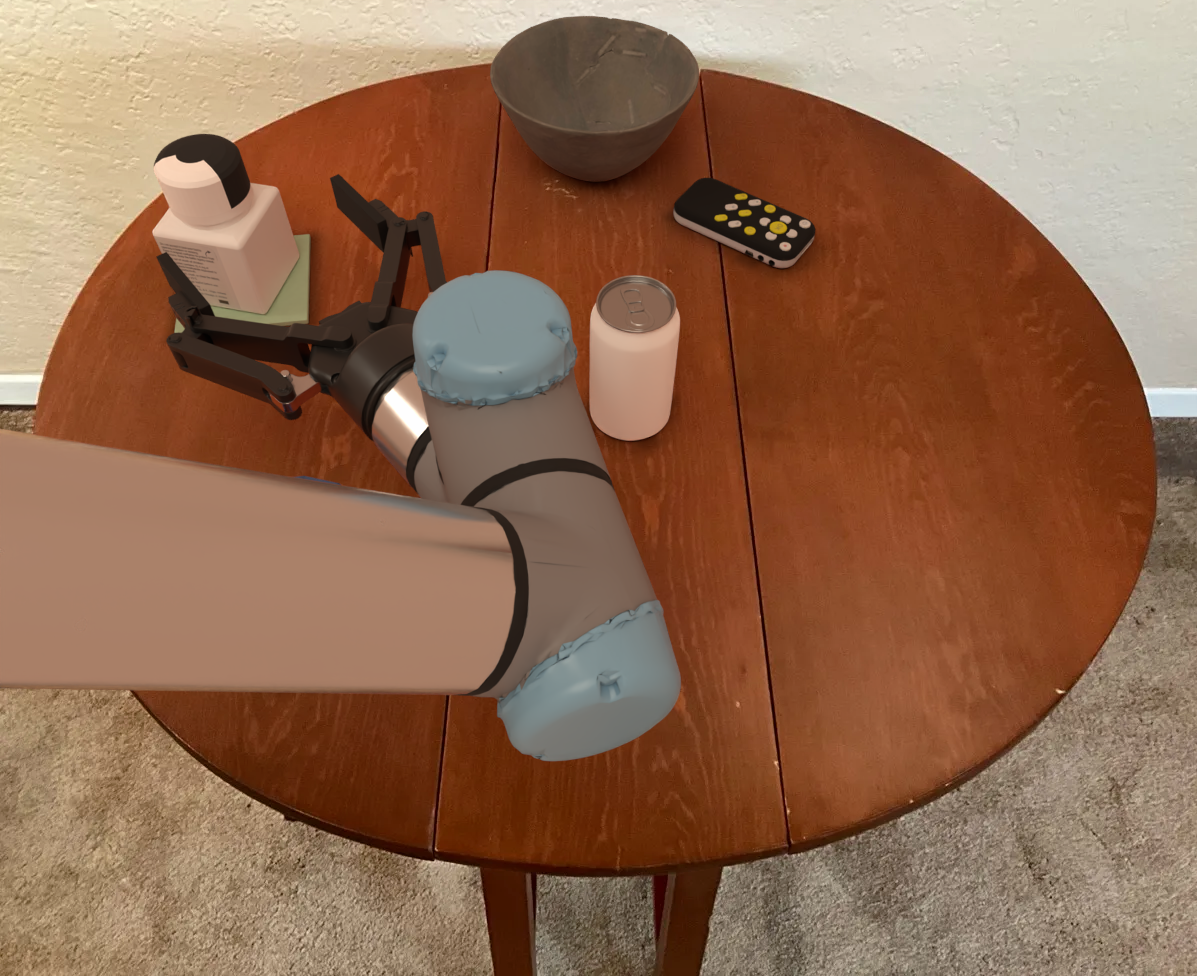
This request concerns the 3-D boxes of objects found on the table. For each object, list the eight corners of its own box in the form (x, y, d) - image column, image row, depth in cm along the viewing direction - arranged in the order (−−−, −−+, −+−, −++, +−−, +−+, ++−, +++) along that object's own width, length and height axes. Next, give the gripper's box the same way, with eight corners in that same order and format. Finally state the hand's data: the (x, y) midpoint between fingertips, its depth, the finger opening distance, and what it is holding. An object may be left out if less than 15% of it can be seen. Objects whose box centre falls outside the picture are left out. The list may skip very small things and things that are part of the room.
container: (221, 243, 87) (170, 115, 77) (302, 256, 86) (261, 129, 76) (182, 302, 83) (122, 176, 72) (266, 317, 82) (218, 191, 71)
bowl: (722, 142, 97) (734, 48, 89) (629, 250, 88) (633, 156, 80) (565, 85, 103) (563, -8, 95) (461, 181, 93) (449, 87, 85)
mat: (176, 337, 81) (173, 333, 81) (187, 249, 88) (185, 245, 87) (308, 323, 82) (307, 319, 82) (310, 238, 89) (309, 233, 88)
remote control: (701, 186, 93) (703, 169, 92) (818, 238, 89) (823, 220, 88) (666, 221, 90) (668, 203, 89) (786, 276, 86) (790, 258, 85)
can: (598, 449, 75) (600, 342, 65) (582, 387, 79) (581, 277, 69) (679, 437, 76) (692, 329, 66) (659, 376, 79) (669, 265, 70)
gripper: (256, 542, 59) (111, 343, 68) (574, 353, 68) (409, 201, 78) (218, 470, 53) (65, 262, 62) (573, 273, 62) (394, 118, 71)
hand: (255, 228), depth 70 cm, fingers open, 13 cm apart
